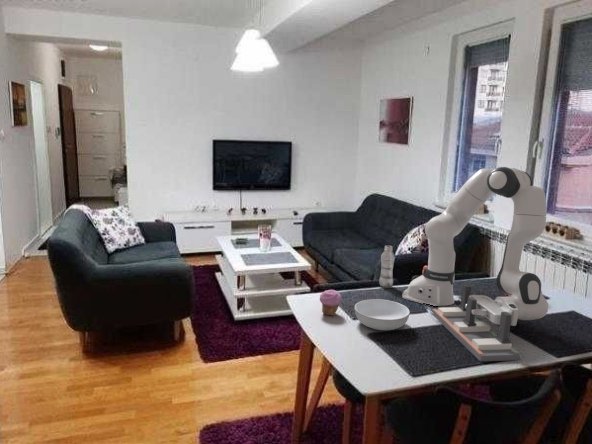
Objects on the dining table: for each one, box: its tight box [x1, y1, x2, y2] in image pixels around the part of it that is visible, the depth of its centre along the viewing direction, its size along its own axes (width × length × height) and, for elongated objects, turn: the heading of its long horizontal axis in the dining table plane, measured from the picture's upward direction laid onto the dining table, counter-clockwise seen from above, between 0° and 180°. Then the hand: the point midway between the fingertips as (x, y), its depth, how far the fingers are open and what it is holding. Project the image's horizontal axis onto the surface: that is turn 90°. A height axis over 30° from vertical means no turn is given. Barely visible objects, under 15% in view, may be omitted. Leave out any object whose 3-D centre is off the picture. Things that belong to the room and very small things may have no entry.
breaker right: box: [495, 312, 512, 344], centre depth 159 cm, size 3×4×10 cm
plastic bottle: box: [378, 244, 396, 288], centre depth 221 cm, size 6×7×20 cm
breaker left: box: [457, 283, 472, 311], centre depth 187 cm, size 3×4×10 cm
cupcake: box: [319, 289, 343, 317], centre depth 188 cm, size 9×9×10 cm
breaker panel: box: [431, 306, 521, 362], centre depth 174 cm, size 14×40×4 cm, turn 7°
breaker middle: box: [463, 297, 477, 326], centre depth 172 cm, size 3×4×10 cm
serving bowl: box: [354, 298, 411, 331], centre depth 179 cm, size 21×21×7 cm
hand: (468, 309), depth 172 cm, fingers closed on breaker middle, 3 cm apart
